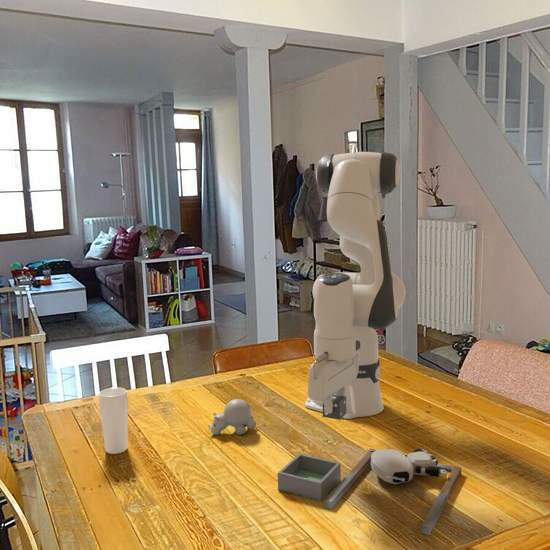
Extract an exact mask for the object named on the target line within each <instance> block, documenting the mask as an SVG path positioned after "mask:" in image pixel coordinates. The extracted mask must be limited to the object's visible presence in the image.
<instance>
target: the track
mask: <svg viewBox="0 0 550 550" xmlns="http://www.w3.org/2000/svg"><path fill="white" fill-rule="evenodd" d="M369 450H373V451H376V450H377V449H374V448H369ZM372 453H373V452H370V451H366V453H365V455H364V456H363V457H362V458H361V459H360V460H359V461H358V462H357V463H356V465H354V467H353V468H352V469H351V470H350V471H349V472H348V474H347V475H345V477H344V478H343V479H342V480H340V481H339V483H338V484H337V485H336V486H335V487H334V488H333V489H332V490H331V492H330V493H329V494H328V495H327V496H326V497H325V498H324V508H326V509H329V510H333V508H334V507H335V506H336V504H337V503H338V502H339V501H340V500H341V499H342V497H344V495H345V494H346V493H347V491H348V490H349V489H350V488H351V487H352V485H354V483H355V482H356V481H357V480H358V479H359V477H360V476H361V475H362V474H363V473H364V472H365V470H366V469H367V468H368V467H369V466H370V465H371V455H372ZM436 467H439V470H442V469H443V470H446V471H447V472H450V473H449V475H448V477H447V478H446V480H445V482H444V484H443V486H442V488H441V489H440V491H439V493H438V495H437V497H436V498H435V501H434V502H433V504H432V506H431V507H430V509H429V511H428V513H427V515H426V516H425V518H424V520H423V522H422V524H421V529H420V530H421V531H420V532H421V534H422V535H423V534H424V535H427V536H431V533H432V531H433V530H434V527H435V526H436V523H437V522H438V520H439V518H440V516H441V514H442V512H443V511H444V510H443V509H444V508H445V506H446V504H447V502H448V500H449V499H450V496H451V495H452V492H453V490H454V488H455V487H456V485H457V483H458V481H459V479H460V477H461V475H462V467H460V466H455V465H454V466H453V465H447V464H444V463H439V462H438V464H437V466H436ZM345 492H346V493H345Z"/></svg>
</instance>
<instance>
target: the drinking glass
mask: <svg viewBox="0 0 550 550" xmlns="http://www.w3.org/2000/svg"><path fill="white" fill-rule="evenodd" d="M128 401H129V399H128V391H127V389H126V388H123V387H109V388H104V389H103V390H100V391H99V392H98V407H99V408H98V409H99V410H98V411H99V416H100V422H101V427H102V433H103V434H102V435H103V439H104V449H105V452H106V453H108V454H109V455H118V454H122V453H123V452H125V451H127V450H128V448H129V447H128V446H129V445H128V422H129V421H128V420H129V419H128V418H129V402H128Z"/></svg>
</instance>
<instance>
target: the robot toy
mask: <svg viewBox="0 0 550 550" xmlns="http://www.w3.org/2000/svg"><path fill="white" fill-rule="evenodd" d="M375 450H376V451H373V450H370V448H369V449H368V448H367V449H365V451H366V452H368V451H370V452H373V453H372V455H371V463H370V467H371V469H372V472H373V473H374V474H376V476H377V477H379V478H380V479H381V480H382V481H384V482H386V483H389V484H392V485H398V484H402V483H408V482H410V481H411V480H412V479H413V478H414V477H413V476H414V475H415V476H416V475H417V476H421V477H424V476H425V477H426V476H429V477H433V478H439V477H440V476H442V477H446V476H447V475H448V471H446V470H443V469H442V470H440V469H439V467H436V466H437V464H438V463H439V462H438V459H437V458H436V457H435V456H434V455H433V454H431V453H428V451H427V450H426V449H423V448H422V449H421V448H417V449H414V450H413V451H412V452H410V453H408V454H405V455H404V454H403V453H402V452H400V451H399V450H396V449H392V448H389V449H388V448H387V449H386V448H385V449H375Z"/></svg>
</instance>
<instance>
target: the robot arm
mask: <svg viewBox="0 0 550 550" xmlns="http://www.w3.org/2000/svg"><path fill="white" fill-rule="evenodd" d="M400 178H401V167H400V163H399V161H398V157H397V156H396V155H395V154H394V153H391V152H388V151H387V152H385V151H382V152H376V151H375V152H374V151H357V152H347V153H345V152H344V153H337V154H334V153H330V154H327V155H324V156H322V157H321V158H320V159H319V161H318V162H317V166H316V170H315V179H316V182H317V186H318V189H320V191H322V192H323V193H325V194H327V202H326V220H327V221H326V222H327V223H328V225H329V226H330V228H331V229H332V230H333V232H334V233H336V234H337V235H338V236H339V249H340V251H341V253H342V254H343V255H344V256H345V257H347V258H349V259H350V260H352V261H354V262H356V263H357V264H358V265H359V266H360V272H344V271H343V272H339V271H336V272H329V273H324V274H320V275H318V277H317V278H316V279H315V281H314V283H313V286H312V297H313V306H312V307H313V316H314V321H315V329H314V331H313V332H314V333H313V355H314V356H315V359H314V362H313V363H312V364H311V365H310V367H309V370H308V381H307V396H308V397H307V399H305V402H304V406H305V408H307V409H310V410H314V411H317V412H320V413H323V404H324V411H325V413H329V414H331V413H332V412H333V411H334V404H333V403H332V398H333V395H339V396H346V415H344V416H343V417H342V418H341V419H345V420H346V419H347V420H349V419H353V418H354V419H355V418H360V417H363V418H364V417H371V416H375V415H378V414H380V413H382V412H383V410H384V409H385V407H384V404H383V403H384V402H383V400H382V395H381V389H380V379H381V377H380V376H381V364H380V363H381V362H380V359H379V335H378V332H377V331H376V330H375V329H378V330H385V329H387V328H388V327H390V326H391V325H392V324H394V322H396V320H397V318H398V315H399V310H400V309H401V307H402V306H403V305H404V303H405V300H406V295H407V294H406V293H407V292H406V287H405V283H404V281H403V280H402V279H401V278H400V276H398V275H397V274H396V273H394V272H393V271H392V265H391V258H390V257H391V256H390V249H389V243H388V237H387V231H386V228H385V224H384V223H383V221H381V205H380V198H379V194H381V198H382V199H385V198H386V195H389V194H391V193H392V192H393V191H394V190H396V188H397V186H398V183H399V182H400Z"/></svg>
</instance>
